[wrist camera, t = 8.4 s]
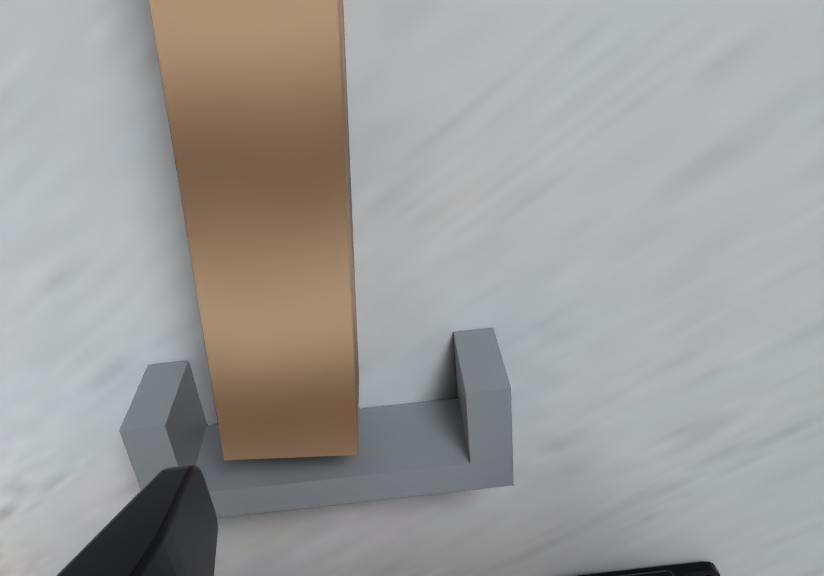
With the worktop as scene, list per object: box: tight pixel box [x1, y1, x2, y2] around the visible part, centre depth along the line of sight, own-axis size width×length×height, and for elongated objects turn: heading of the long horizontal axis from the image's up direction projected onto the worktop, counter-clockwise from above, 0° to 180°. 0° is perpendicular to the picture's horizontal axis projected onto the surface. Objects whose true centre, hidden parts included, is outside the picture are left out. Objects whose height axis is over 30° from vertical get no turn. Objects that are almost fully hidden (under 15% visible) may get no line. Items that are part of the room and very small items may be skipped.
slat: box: [149, 0, 359, 460], centre depth 17 cm, size 16×4×4 cm, turn 0°
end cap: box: [119, 328, 513, 518], centre depth 22 cm, size 4×10×3 cm, turn 95°
